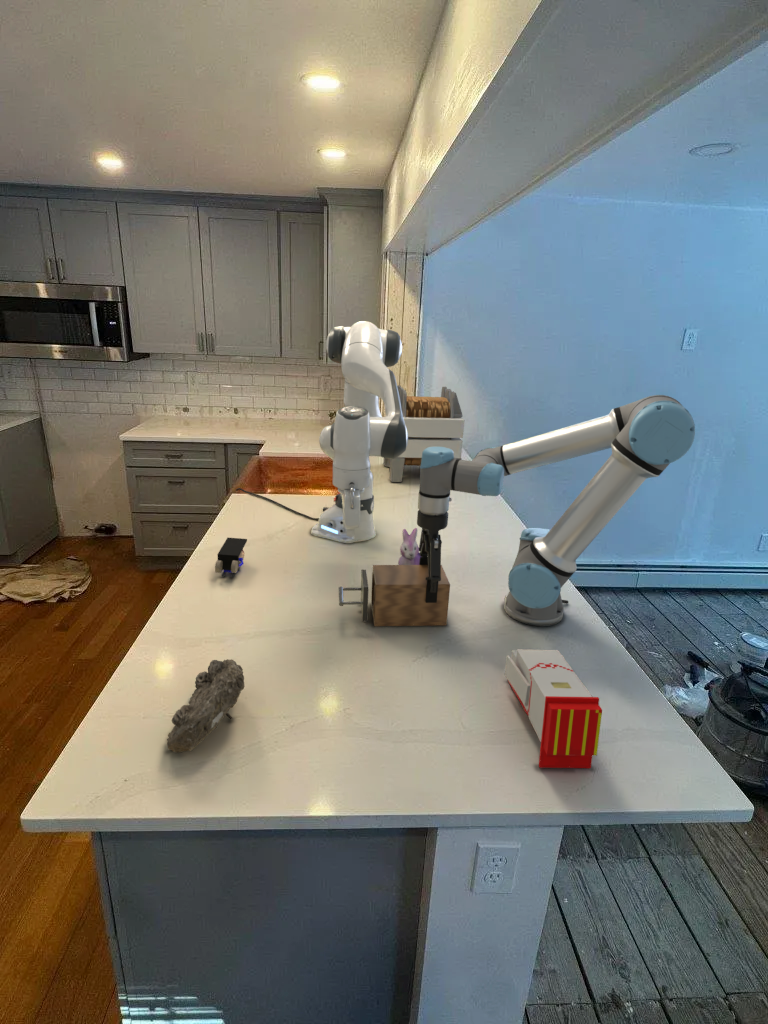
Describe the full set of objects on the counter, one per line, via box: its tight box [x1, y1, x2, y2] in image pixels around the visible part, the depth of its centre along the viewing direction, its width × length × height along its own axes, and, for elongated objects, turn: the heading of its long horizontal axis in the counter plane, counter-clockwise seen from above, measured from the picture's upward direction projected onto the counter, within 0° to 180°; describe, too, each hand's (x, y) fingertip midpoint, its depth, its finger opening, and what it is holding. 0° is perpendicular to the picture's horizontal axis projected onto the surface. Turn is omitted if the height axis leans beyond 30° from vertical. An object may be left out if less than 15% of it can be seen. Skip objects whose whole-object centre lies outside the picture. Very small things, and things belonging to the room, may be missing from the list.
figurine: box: [398, 527, 421, 565], centre depth 166 cm, size 9×10×15 cm
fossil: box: [166, 658, 245, 754], centre depth 106 cm, size 22×10×15 cm
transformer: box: [383, 384, 465, 483], centre depth 268 cm, size 34×33×41 cm
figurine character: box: [214, 537, 248, 578], centre depth 166 cm, size 7×8×15 cm
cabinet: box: [372, 564, 451, 627], centre depth 146 cm, size 18×11×12 cm, turn 95°
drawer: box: [337, 569, 376, 623], centre depth 145 cm, size 23×10×10 cm, turn 95°
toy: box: [504, 648, 603, 769], centre depth 111 cm, size 12×13×30 cm
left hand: (349, 531), depth 138 cm, fingers open, 4 cm apart
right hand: (427, 590), depth 146 cm, fingers closed on cabinet, 11 cm apart
